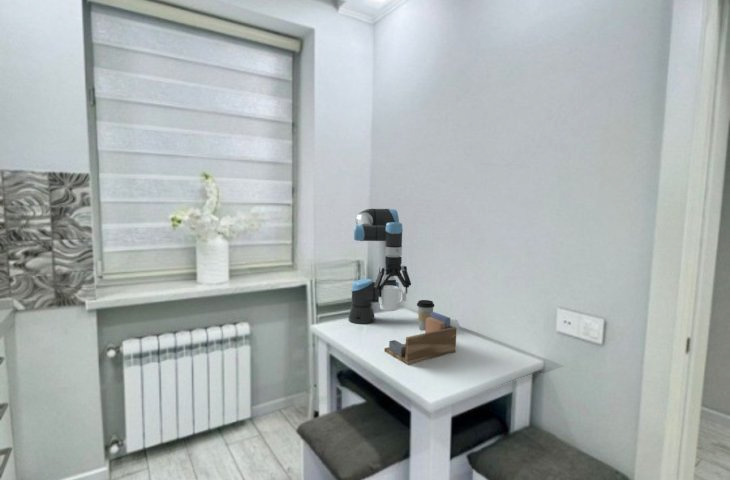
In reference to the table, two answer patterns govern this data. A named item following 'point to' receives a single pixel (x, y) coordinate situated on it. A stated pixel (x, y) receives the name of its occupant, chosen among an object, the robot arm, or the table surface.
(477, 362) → the table surface
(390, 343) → the grey rectangular block
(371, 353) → the table surface
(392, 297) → the cup
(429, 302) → the coffee cup
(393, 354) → the wooden book rack
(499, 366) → the table surface
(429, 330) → the books
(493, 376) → the table surface
